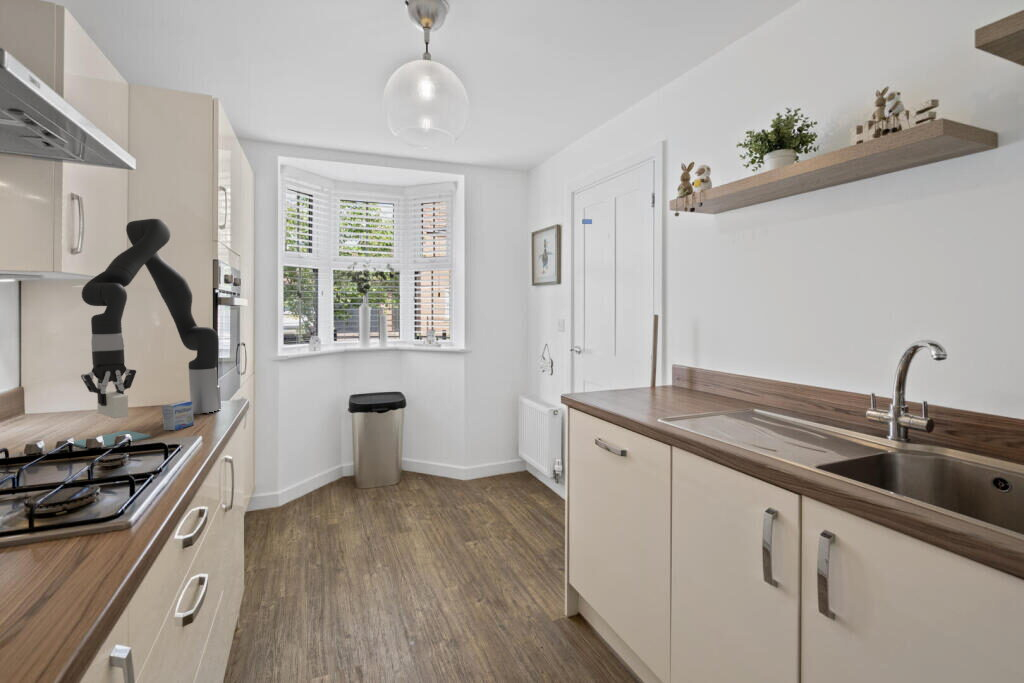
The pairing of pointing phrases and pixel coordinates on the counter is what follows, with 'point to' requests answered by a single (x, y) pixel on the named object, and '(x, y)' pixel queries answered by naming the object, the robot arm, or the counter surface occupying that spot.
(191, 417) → the medicine box
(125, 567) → the counter surface
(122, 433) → the mat
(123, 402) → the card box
